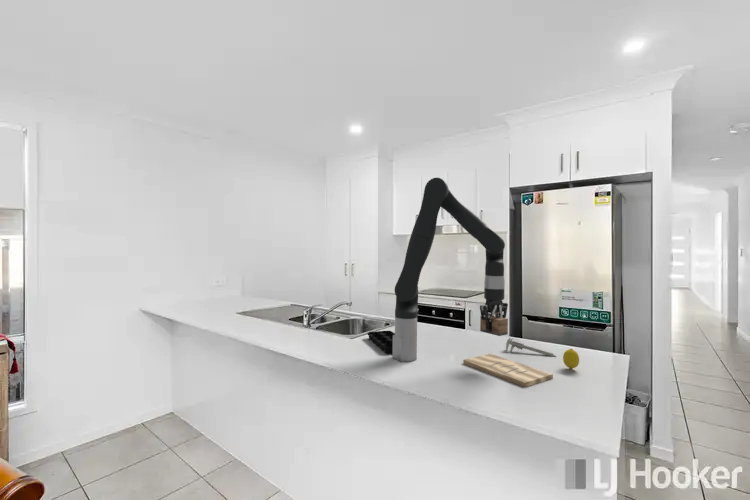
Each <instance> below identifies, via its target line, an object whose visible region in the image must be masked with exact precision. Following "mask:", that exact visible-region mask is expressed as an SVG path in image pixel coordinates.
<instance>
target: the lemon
mask: <svg viewBox="0 0 750 500" xmlns="http://www.w3.org/2000/svg"><path fill="white" fill-rule="evenodd" d="M562 360H563V361H562V362H563V364H564V366H566V368H568V369H569V370H573V369H576V368H577V367H578V366H579V364H580V355H579V354H578V352H577V351H576V350H574V349H573V348H570V349H567V350H565V351H564V352H563V356H562Z"/></svg>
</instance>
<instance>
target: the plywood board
mask: <svg viewBox="0 0 750 500" xmlns="http://www.w3.org/2000/svg"><path fill="white" fill-rule="evenodd" d="M462 362H463V365H467V366H469V367H472V368H474V369H477V370H480V371H482V372H484V373H487V374H490V375H491V376H492V375H493V376H495V377H498V378H500V379H502V380H505V381H508V382H511V383H513V384H515V385H518V386H521V387H524V388H526V387H531V386H533V385H536V384H540V383H542V382H545V381H549V380H553V378H554V375H553V373H550V372H547V371H545V370H543V369H538V368H535V367H533V366H529V365H526V364H523V363H521V362H517V361H513V360H511V359H507V358H504V357H501V356H498V355H495V354H492V353H488V354H483V355H479V356H474V357H470V358H466V359H463V361H462Z"/></svg>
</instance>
